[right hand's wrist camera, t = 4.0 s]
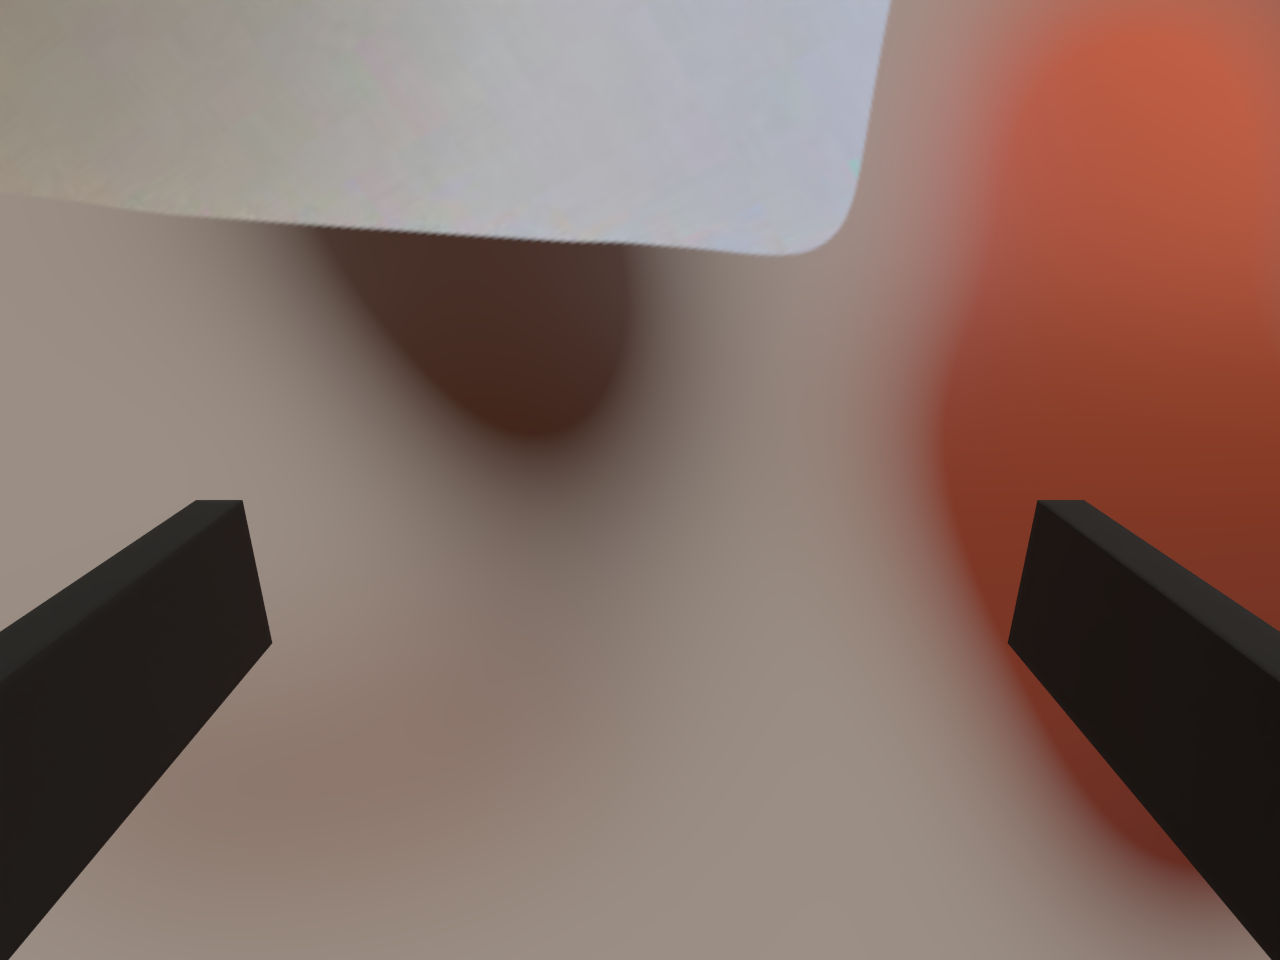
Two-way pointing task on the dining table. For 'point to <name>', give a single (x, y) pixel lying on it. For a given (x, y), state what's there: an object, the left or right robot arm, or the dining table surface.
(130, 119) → the dining table surface
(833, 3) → the dining table surface
